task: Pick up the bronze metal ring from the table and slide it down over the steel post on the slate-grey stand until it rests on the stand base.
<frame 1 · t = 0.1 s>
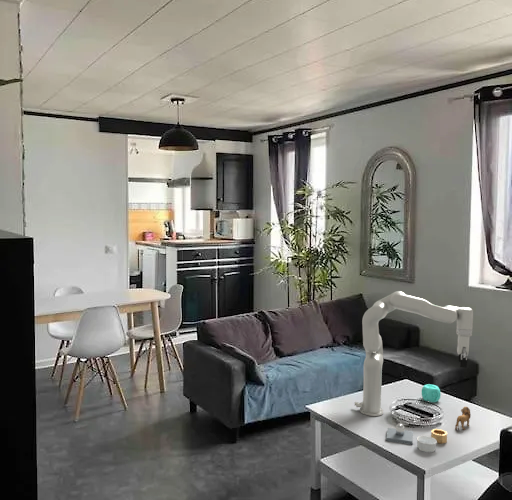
hand: (462, 364, 273), 31 cm above the table, tool pointing down, fingers open, 9 cm apart
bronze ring: (438, 440, 255), on the table
ramekin: (426, 449, 246), on the table
stand base: (399, 437, 258), on the table
lion figurine: (462, 427, 272), on the table
decorative dice: (430, 400, 309), on the table
steel post: (400, 429, 257), on the stand base, point 4 cm above the table
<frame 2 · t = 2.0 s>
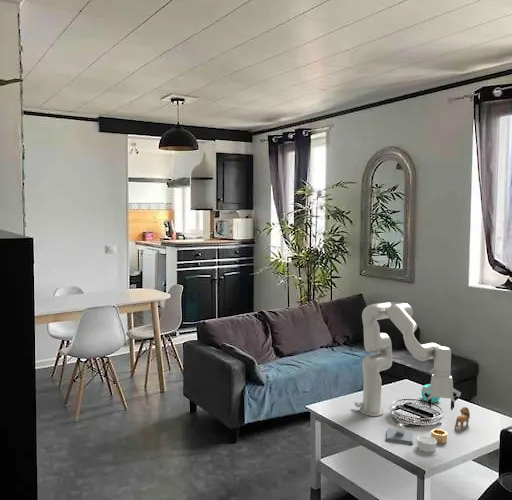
hand: (440, 408, 254), 16 cm above the table, tool pointing down, fingers open, 9 cm apart
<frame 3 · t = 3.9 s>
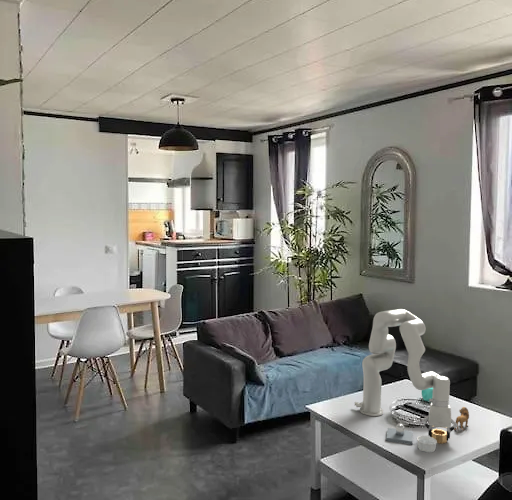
hand: (438, 438, 255), 1 cm above the table, tool pointing down, fingers closed on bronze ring, 7 cm apart
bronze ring: (438, 440, 255), on the table, touching gripper
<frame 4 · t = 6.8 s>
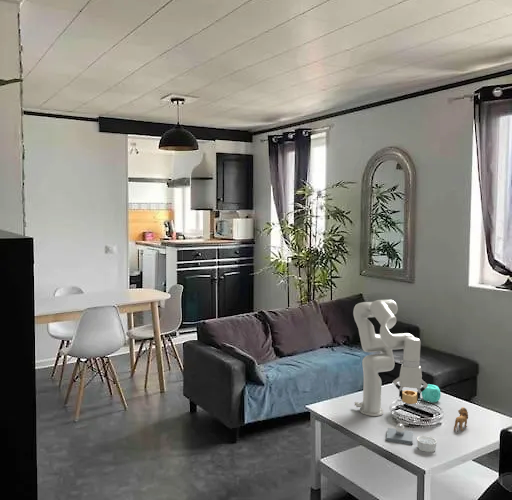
hand: (409, 398, 256), 19 cm above the table, tool pointing down, fingers closed on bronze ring, 7 cm apart
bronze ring: (409, 400, 256), point 18 cm above the table, touching gripper
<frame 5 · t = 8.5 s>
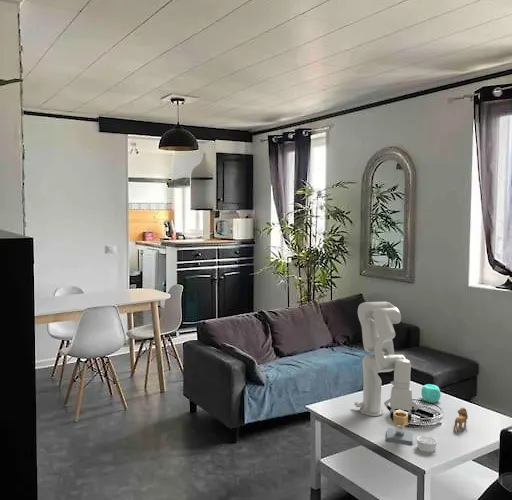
hand: (400, 420, 257), 8 cm above the table, tool pointing down, fingers closed on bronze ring, 7 cm apart
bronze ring: (400, 422, 257), point 7 cm above the table, touching gripper
when the fingers open (3 cm above the table, at t = 10.0 s): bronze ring stays where it is, resting on stand base.
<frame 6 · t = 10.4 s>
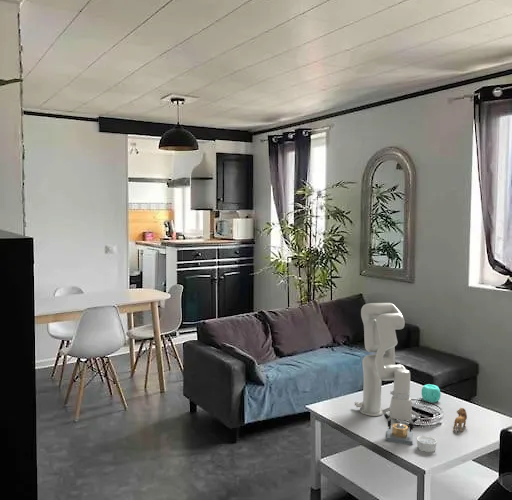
hand: (400, 429, 257), 4 cm above the table, tool pointing down, fingers open, 9 cm apart
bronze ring: (399, 434, 258), point 1 cm above the table, touching stand base
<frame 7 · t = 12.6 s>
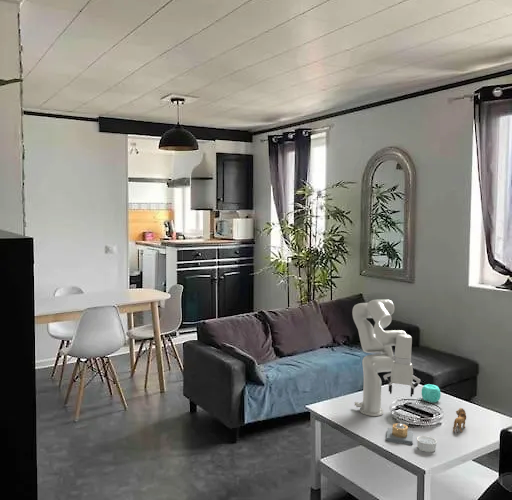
hand: (400, 394, 258), 21 cm above the table, tool pointing down, fingers open, 9 cm apart
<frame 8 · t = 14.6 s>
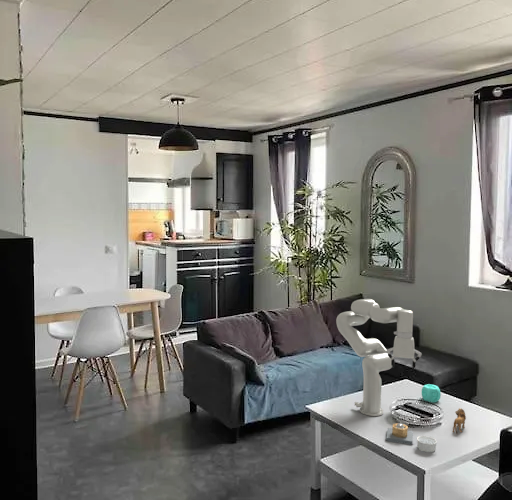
hand: (403, 368, 269), 30 cm above the table, tool pointing down, fingers open, 9 cm apart
at the end: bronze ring 0.0 cm off-centre on the stand base, point 1.5 cm above the stand base's base; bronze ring tilted 0°; the gripper is holding nothing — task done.
